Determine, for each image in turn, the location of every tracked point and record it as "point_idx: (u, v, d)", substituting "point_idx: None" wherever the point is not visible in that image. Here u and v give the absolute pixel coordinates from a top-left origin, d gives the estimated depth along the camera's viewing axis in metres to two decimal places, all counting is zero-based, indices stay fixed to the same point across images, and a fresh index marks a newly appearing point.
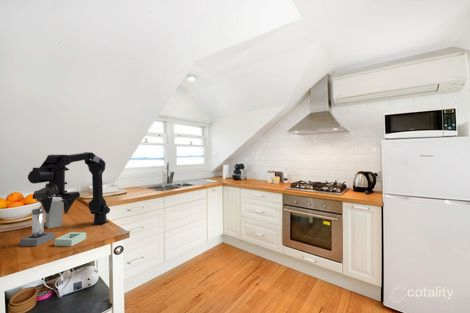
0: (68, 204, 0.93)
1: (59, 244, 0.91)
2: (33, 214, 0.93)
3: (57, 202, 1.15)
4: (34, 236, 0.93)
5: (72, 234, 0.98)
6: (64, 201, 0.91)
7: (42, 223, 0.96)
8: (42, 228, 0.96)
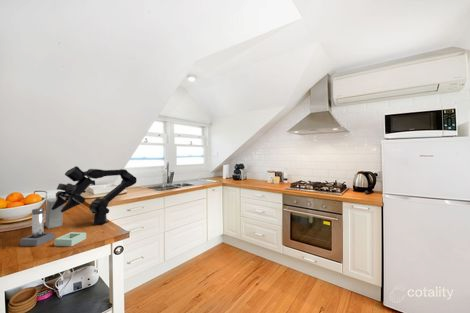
0: (69, 205, 1.02)
1: (59, 244, 0.91)
2: (33, 214, 0.93)
3: None
4: (34, 236, 0.93)
5: (72, 234, 0.98)
6: (69, 199, 1.02)
7: (42, 223, 0.96)
8: (42, 228, 0.96)
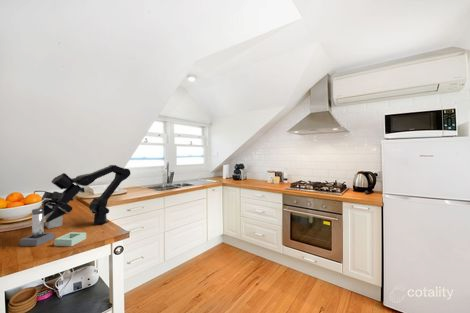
0: (55, 214, 0.97)
1: (59, 244, 0.91)
2: (33, 214, 0.93)
3: None
4: (34, 236, 0.93)
5: (72, 234, 0.98)
6: (55, 208, 0.96)
7: (42, 223, 0.96)
8: (42, 228, 0.96)
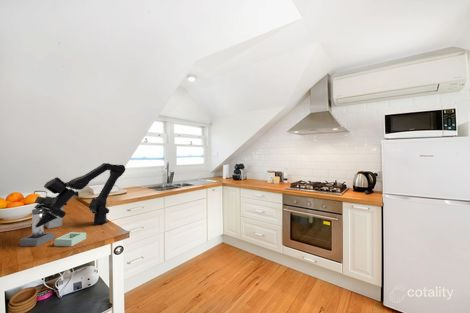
0: (45, 219, 0.95)
1: (59, 244, 0.91)
2: (33, 214, 0.93)
3: None
4: (34, 236, 0.93)
5: (72, 234, 0.98)
6: (45, 213, 0.95)
7: None
8: (42, 228, 0.96)
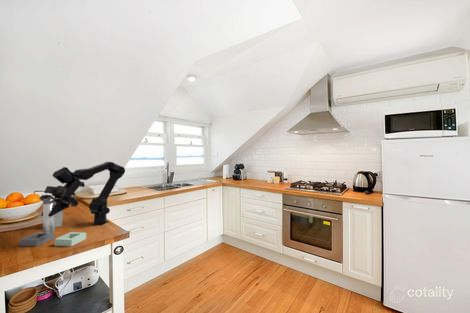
0: (58, 208, 0.95)
1: (59, 244, 0.91)
2: (45, 203, 0.92)
3: None
4: (46, 226, 0.93)
5: (72, 234, 0.98)
6: (58, 202, 0.95)
7: None
8: (53, 218, 0.95)
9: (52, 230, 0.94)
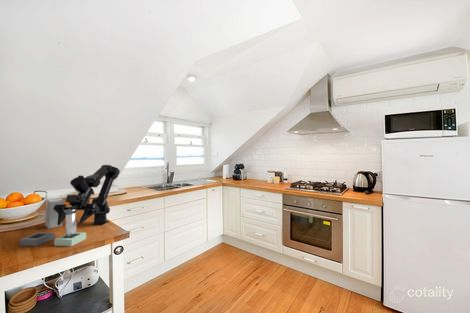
0: (86, 215, 0.98)
1: (59, 244, 0.91)
2: (69, 214, 0.94)
3: (57, 202, 1.15)
4: (71, 236, 0.94)
5: None
6: (86, 209, 0.98)
7: None
8: None
9: None
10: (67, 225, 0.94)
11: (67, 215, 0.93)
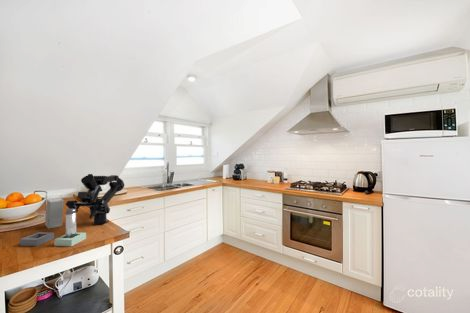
0: (95, 211, 1.06)
1: (59, 244, 0.91)
2: (70, 214, 0.94)
3: (57, 202, 1.15)
4: (71, 236, 0.94)
5: None
6: (96, 205, 1.06)
7: None
8: None
9: None
10: (67, 225, 0.94)
11: (67, 215, 0.94)
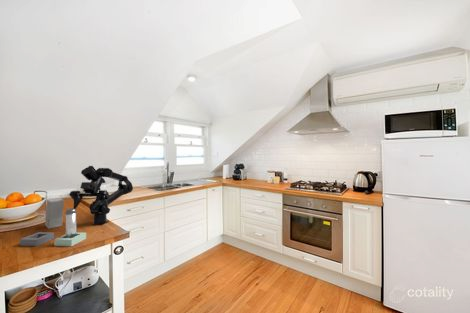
0: (98, 201, 1.10)
1: (59, 244, 0.91)
2: (70, 214, 0.94)
3: (57, 202, 1.15)
4: (71, 236, 0.94)
5: None
6: (98, 195, 1.10)
7: None
8: None
9: None
10: (67, 225, 0.94)
11: (67, 215, 0.94)
